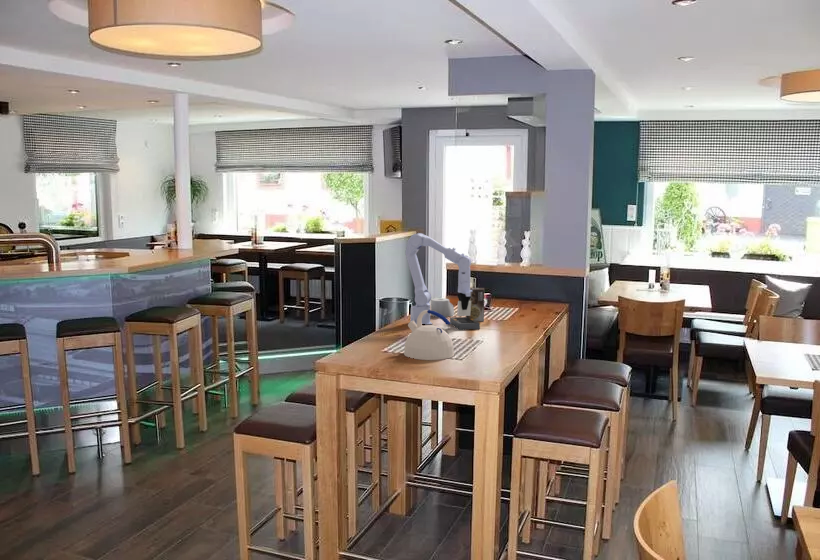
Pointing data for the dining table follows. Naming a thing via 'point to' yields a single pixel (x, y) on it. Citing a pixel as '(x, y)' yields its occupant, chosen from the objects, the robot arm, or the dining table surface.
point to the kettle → (428, 340)
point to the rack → (464, 323)
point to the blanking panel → (464, 312)
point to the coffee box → (477, 304)
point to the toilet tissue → (442, 307)
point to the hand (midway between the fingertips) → (463, 309)
